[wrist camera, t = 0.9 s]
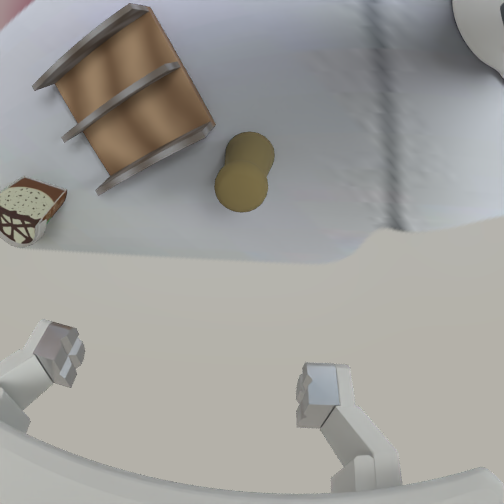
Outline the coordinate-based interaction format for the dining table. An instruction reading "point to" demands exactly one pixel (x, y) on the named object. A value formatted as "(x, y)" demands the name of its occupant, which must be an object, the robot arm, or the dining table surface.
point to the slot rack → (129, 94)
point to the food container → (28, 210)
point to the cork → (245, 172)
